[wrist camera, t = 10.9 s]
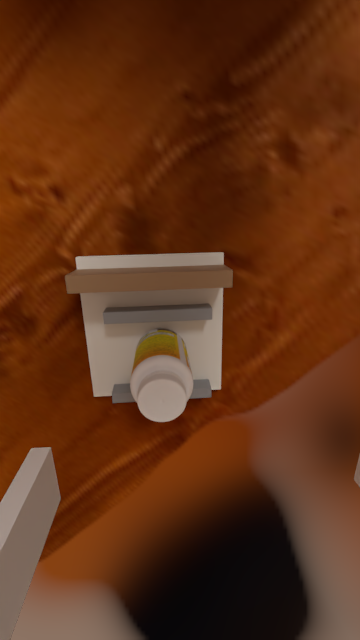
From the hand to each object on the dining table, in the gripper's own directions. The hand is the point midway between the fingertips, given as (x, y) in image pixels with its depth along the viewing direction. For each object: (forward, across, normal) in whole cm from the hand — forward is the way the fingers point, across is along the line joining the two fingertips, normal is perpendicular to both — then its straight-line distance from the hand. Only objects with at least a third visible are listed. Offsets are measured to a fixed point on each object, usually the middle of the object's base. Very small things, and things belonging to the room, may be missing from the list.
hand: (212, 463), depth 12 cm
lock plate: (+21, -3, -2) cm, 22 cm away
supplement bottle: (+20, -2, -4) cm, 21 cm away
